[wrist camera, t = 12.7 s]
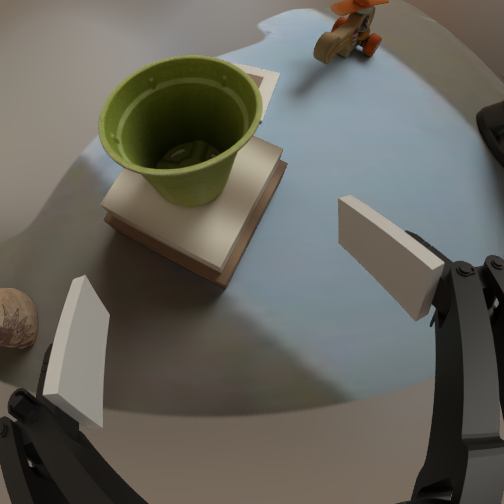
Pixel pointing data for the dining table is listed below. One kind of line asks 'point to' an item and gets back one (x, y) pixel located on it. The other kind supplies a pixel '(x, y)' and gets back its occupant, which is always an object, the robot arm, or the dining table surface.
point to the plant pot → (181, 125)
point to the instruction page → (262, 83)
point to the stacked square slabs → (200, 214)
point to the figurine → (17, 319)
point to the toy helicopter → (349, 30)
